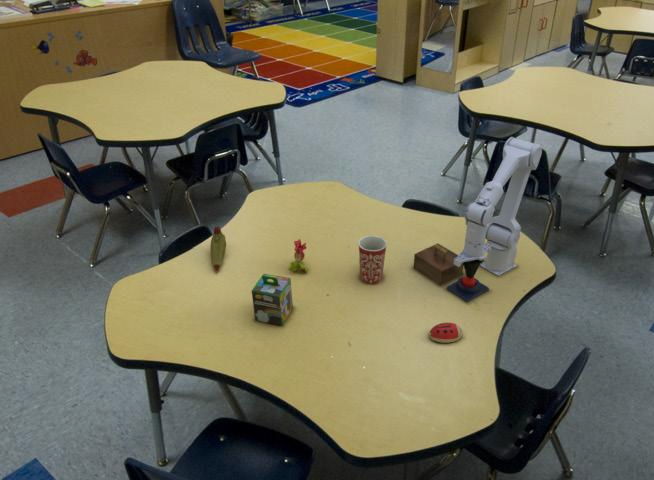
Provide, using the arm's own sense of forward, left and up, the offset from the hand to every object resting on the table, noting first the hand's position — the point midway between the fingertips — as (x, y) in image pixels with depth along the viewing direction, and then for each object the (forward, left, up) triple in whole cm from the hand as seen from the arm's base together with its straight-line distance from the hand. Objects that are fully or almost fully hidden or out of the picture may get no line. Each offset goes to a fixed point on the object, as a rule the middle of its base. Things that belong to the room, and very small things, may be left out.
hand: (469, 276), depth 182 cm
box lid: (0, -13, 0) cm, 13 cm away
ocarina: (+54, -65, -6) cm, 85 cm away
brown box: (0, -13, -5) cm, 14 cm away
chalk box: (+56, -27, -6) cm, 62 cm away
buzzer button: (0, 0, -3) cm, 3 cm away
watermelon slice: (+22, +11, -6) cm, 25 cm away
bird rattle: (+36, -43, -6) cm, 56 cm away
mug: (+19, -25, -6) cm, 32 cm away
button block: (0, 0, -5) cm, 5 cm away
